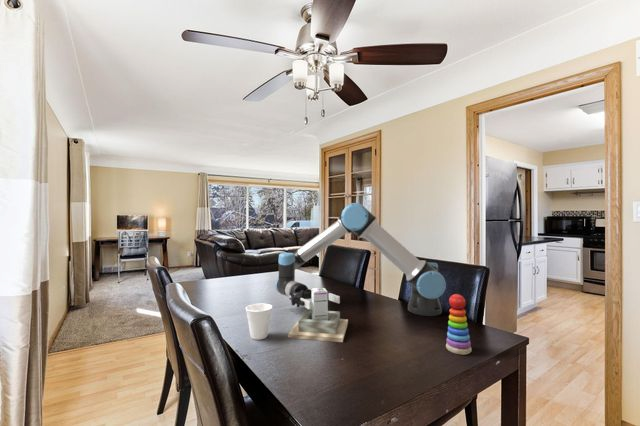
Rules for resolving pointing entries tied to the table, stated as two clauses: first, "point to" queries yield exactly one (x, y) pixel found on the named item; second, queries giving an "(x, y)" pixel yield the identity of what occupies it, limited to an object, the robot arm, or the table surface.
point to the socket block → (320, 328)
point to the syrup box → (319, 304)
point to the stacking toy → (458, 327)
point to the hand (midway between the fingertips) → (325, 302)
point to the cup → (259, 320)
